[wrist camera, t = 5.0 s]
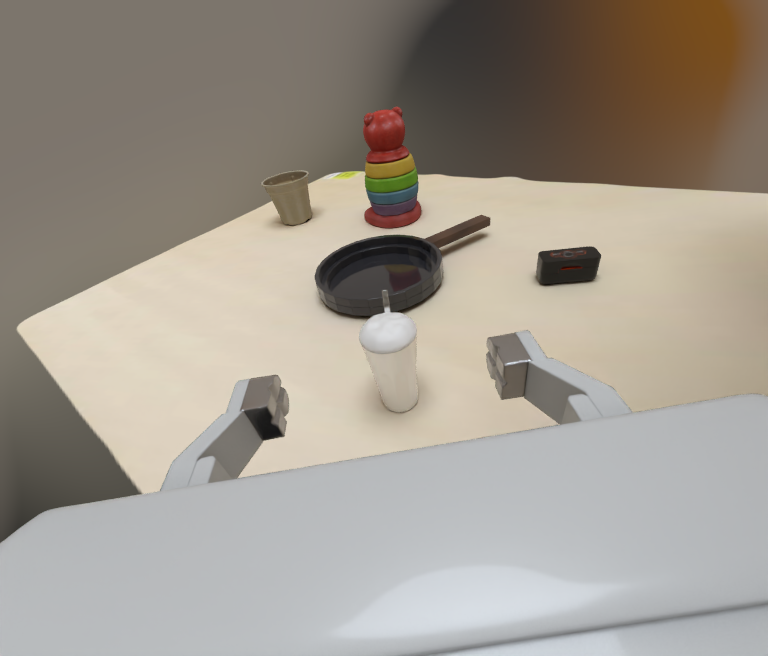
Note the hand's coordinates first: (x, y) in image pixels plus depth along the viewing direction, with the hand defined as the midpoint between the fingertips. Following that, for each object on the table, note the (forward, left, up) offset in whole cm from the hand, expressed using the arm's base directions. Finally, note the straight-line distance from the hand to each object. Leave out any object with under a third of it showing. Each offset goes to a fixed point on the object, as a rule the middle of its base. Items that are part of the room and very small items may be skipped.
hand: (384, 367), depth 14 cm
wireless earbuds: (-32, -14, -16) cm, 39 cm away
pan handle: (-28, -30, -14) cm, 43 cm away
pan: (-14, -30, -16) cm, 37 cm away
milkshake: (-5, -11, -16) cm, 20 cm away
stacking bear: (-28, -48, -16) cm, 58 cm away
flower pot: (-14, -65, -16) cm, 68 cm away
